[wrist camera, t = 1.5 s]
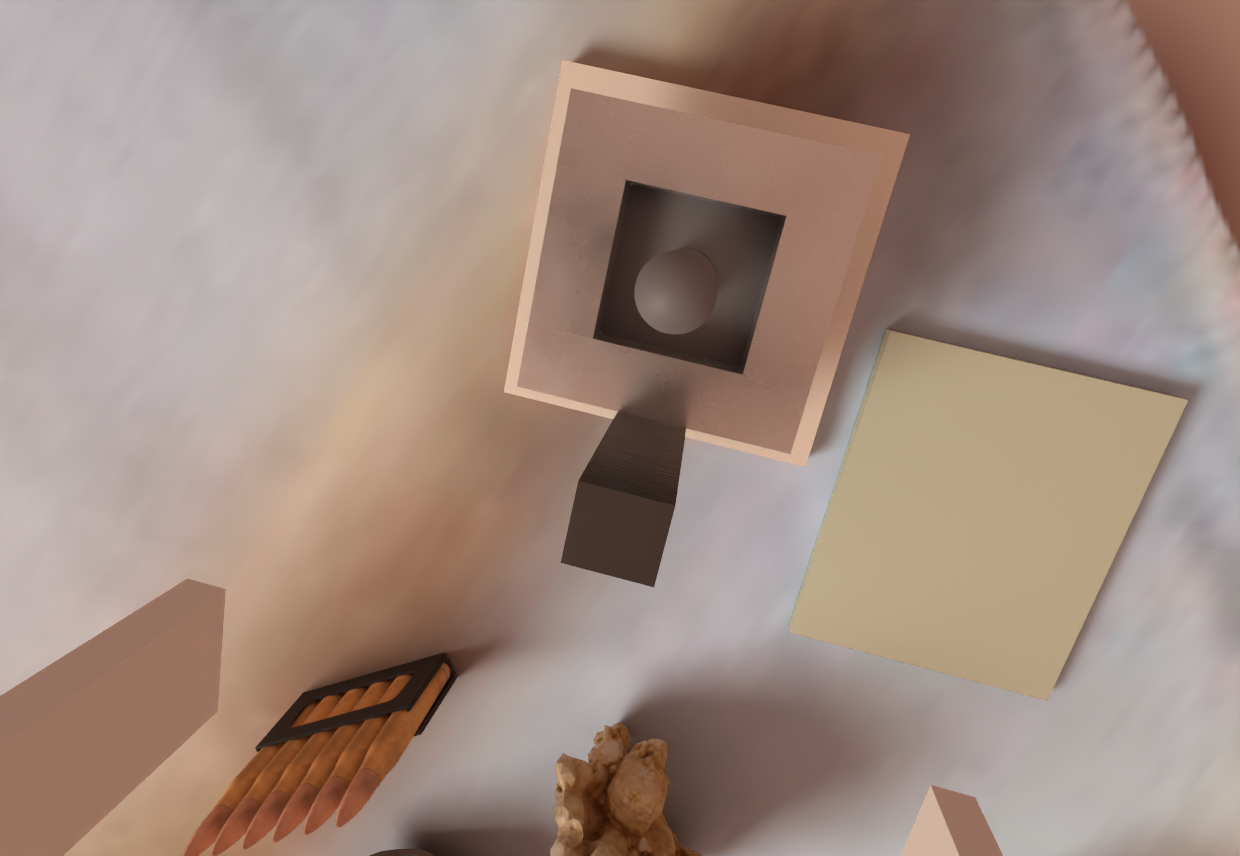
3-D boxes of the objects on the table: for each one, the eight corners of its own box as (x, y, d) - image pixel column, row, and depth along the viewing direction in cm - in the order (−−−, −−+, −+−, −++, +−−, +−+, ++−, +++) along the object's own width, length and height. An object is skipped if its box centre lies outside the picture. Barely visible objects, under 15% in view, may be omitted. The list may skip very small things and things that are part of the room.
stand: (567, 66, 33) (453, -75, 18) (902, 138, 32) (1062, 49, 17) (510, 387, 37) (382, 477, 23) (802, 459, 36) (862, 602, 22)
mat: (886, 329, 34) (890, 331, 33) (1177, 396, 33) (1188, 400, 32) (788, 624, 38) (790, 632, 38) (1040, 691, 38) (1047, 700, 37)
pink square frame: (580, 98, 28) (501, 11, 18) (869, 161, 27) (968, 109, 17) (518, 434, 32) (424, 526, 22) (768, 497, 32) (796, 625, 21)
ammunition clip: (446, 651, 42) (345, 805, 30) (458, 677, 42) (364, 838, 31) (301, 693, 44) (157, 850, 33) (314, 717, 45) (176, 881, 33)
